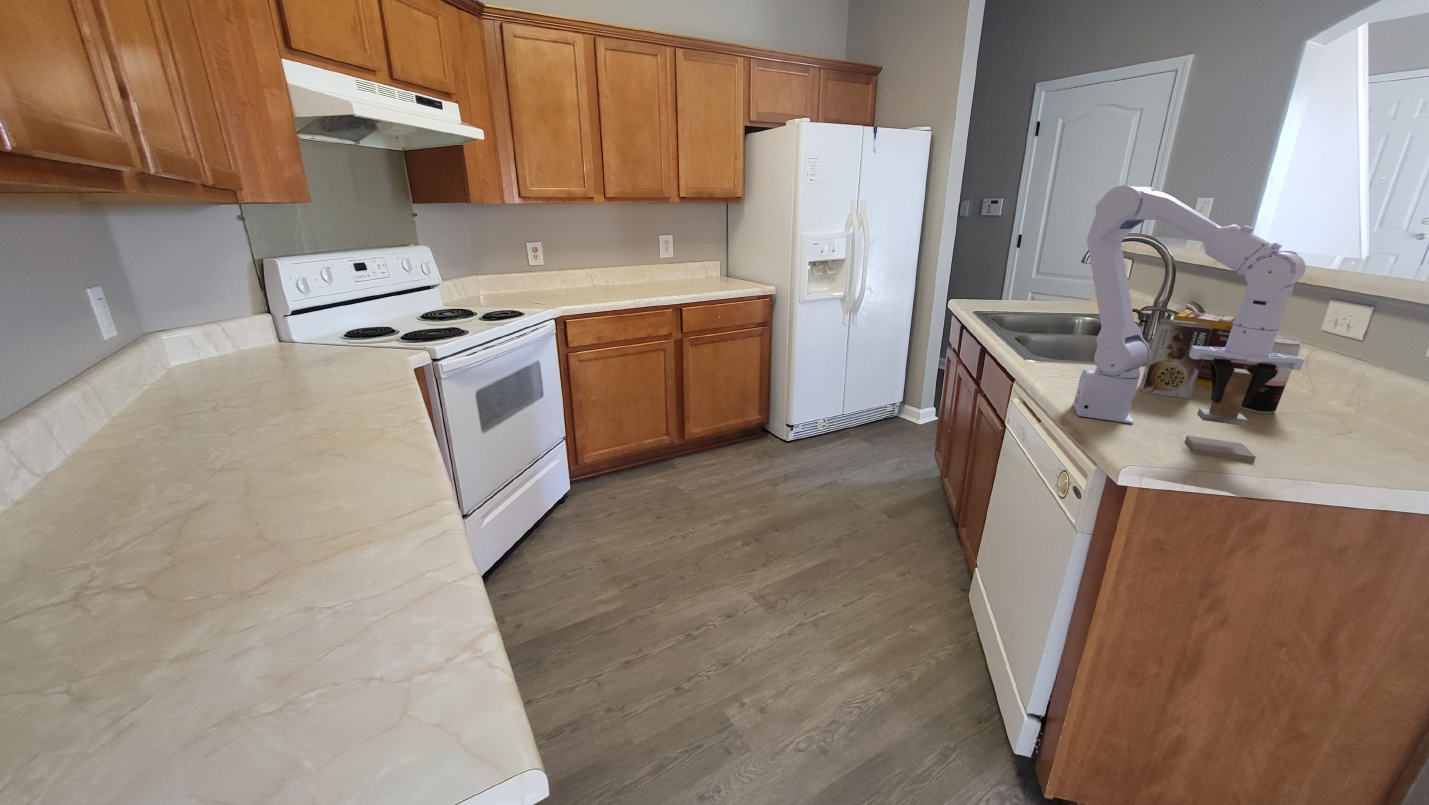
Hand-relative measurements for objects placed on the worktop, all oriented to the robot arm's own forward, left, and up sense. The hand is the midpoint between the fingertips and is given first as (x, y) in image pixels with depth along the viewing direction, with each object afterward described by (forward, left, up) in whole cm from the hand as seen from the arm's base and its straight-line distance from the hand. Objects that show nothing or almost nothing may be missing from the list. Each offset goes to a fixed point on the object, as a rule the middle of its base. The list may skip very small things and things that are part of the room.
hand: (1228, 403), depth 100 cm
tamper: (0, 0, -3) cm, 3 cm away
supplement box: (+10, +47, -9) cm, 49 cm away
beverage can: (+15, +28, -9) cm, 33 cm away
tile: (0, +1, -8) cm, 8 cm away
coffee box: (0, +32, -9) cm, 34 cm away
